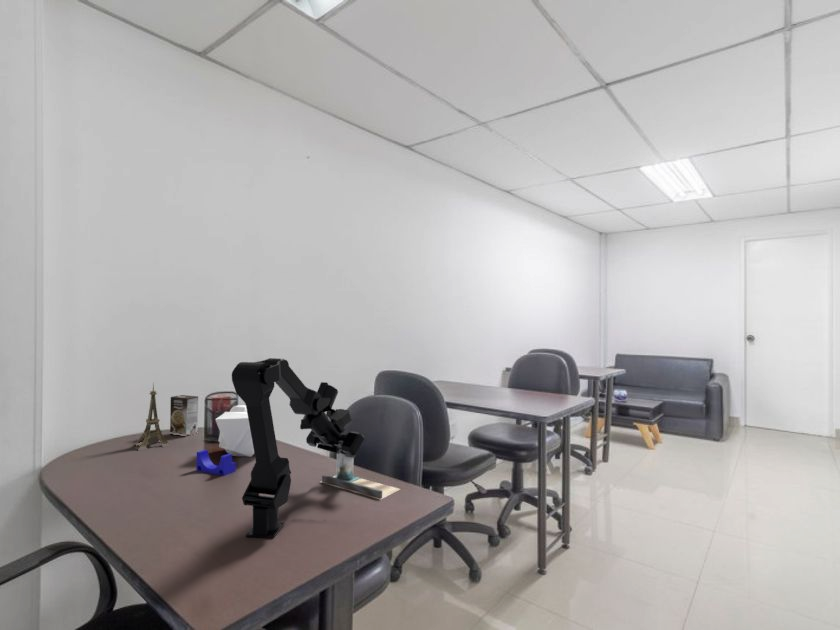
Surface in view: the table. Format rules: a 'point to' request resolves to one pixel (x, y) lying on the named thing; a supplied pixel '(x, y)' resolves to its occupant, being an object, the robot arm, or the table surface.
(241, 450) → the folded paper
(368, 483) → the rail board
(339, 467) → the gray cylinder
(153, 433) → the eiffel tower
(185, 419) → the coffee box
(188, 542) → the table surface
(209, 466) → the cable clip
